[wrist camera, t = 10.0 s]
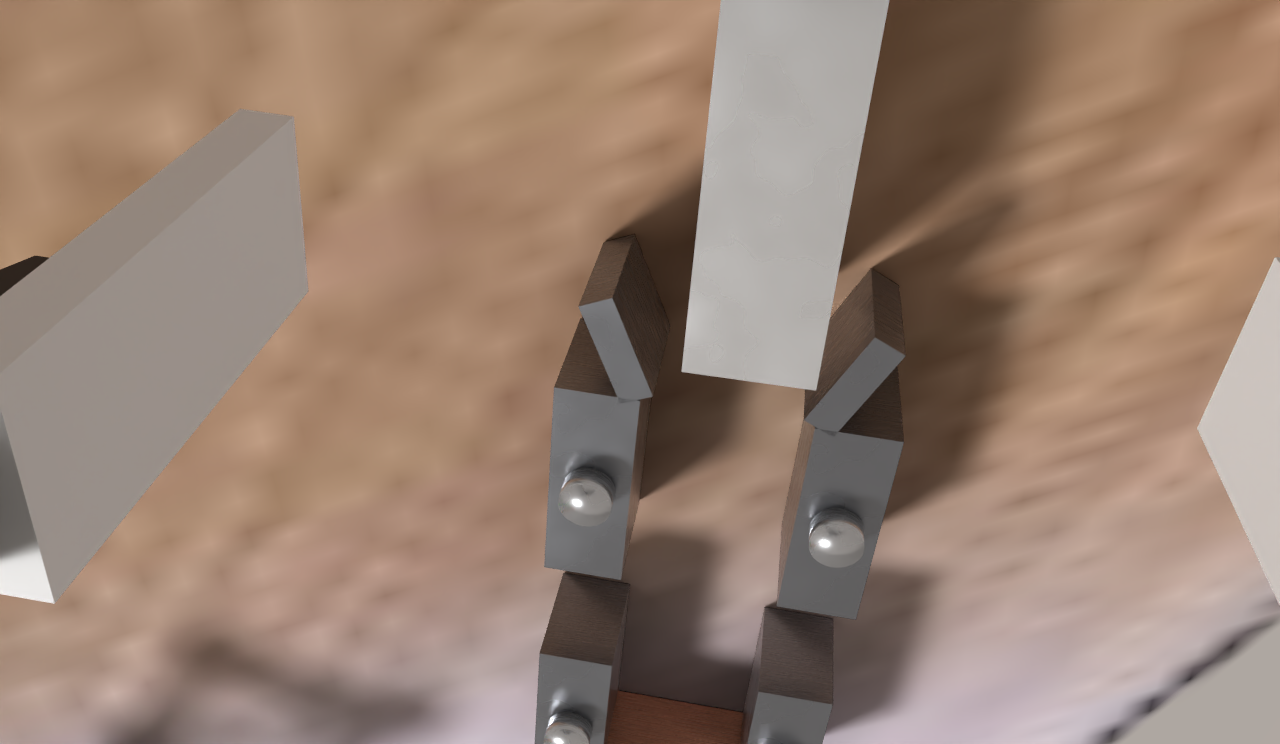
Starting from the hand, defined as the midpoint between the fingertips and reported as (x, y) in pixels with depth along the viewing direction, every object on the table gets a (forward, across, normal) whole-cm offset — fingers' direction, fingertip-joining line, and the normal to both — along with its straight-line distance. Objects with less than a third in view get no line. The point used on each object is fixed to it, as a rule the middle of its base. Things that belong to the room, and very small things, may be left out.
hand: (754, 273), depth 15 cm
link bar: (+17, 0, -1) cm, 17 cm away
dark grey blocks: (+16, 0, -18) cm, 25 cm away
